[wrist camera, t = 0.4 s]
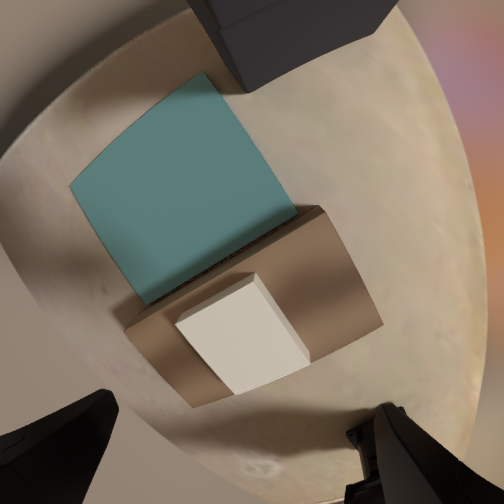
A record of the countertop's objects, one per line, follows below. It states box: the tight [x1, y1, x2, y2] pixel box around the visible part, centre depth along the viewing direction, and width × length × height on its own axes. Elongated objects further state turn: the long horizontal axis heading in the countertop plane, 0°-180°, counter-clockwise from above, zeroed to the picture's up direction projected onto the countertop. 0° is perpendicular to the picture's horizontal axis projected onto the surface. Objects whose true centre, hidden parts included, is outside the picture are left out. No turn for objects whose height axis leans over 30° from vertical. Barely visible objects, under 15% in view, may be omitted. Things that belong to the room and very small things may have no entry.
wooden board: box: [124, 205, 384, 408], centre depth 21 cm, size 9×17×3 cm, turn 123°
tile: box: [175, 272, 311, 395], centre depth 19 cm, size 7×6×2 cm
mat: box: [70, 71, 298, 306], centre depth 20 cm, size 12×14×1 cm
